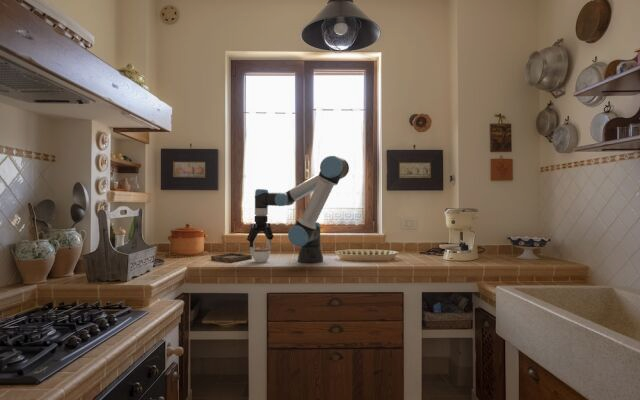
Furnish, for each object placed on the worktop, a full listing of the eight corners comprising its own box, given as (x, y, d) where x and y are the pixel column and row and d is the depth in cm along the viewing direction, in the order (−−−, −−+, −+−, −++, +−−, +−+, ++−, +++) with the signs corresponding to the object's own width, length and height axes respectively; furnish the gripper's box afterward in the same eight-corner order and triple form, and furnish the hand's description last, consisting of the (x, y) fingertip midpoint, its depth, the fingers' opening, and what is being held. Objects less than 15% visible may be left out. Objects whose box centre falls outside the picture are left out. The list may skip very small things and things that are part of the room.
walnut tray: (251, 259, 240) (251, 254, 240) (230, 262, 226) (230, 258, 226) (232, 256, 249) (232, 252, 249) (211, 260, 235) (211, 256, 235)
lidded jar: (261, 263, 222) (261, 247, 222) (248, 262, 229) (248, 245, 229) (274, 261, 231) (274, 245, 231) (261, 259, 237) (261, 244, 237)
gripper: (270, 214, 242) (269, 248, 242) (241, 215, 221) (240, 253, 222) (279, 215, 238) (279, 249, 238) (250, 216, 217) (250, 254, 218)
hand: (260, 251), depth 230 cm, fingers open, 13 cm apart
